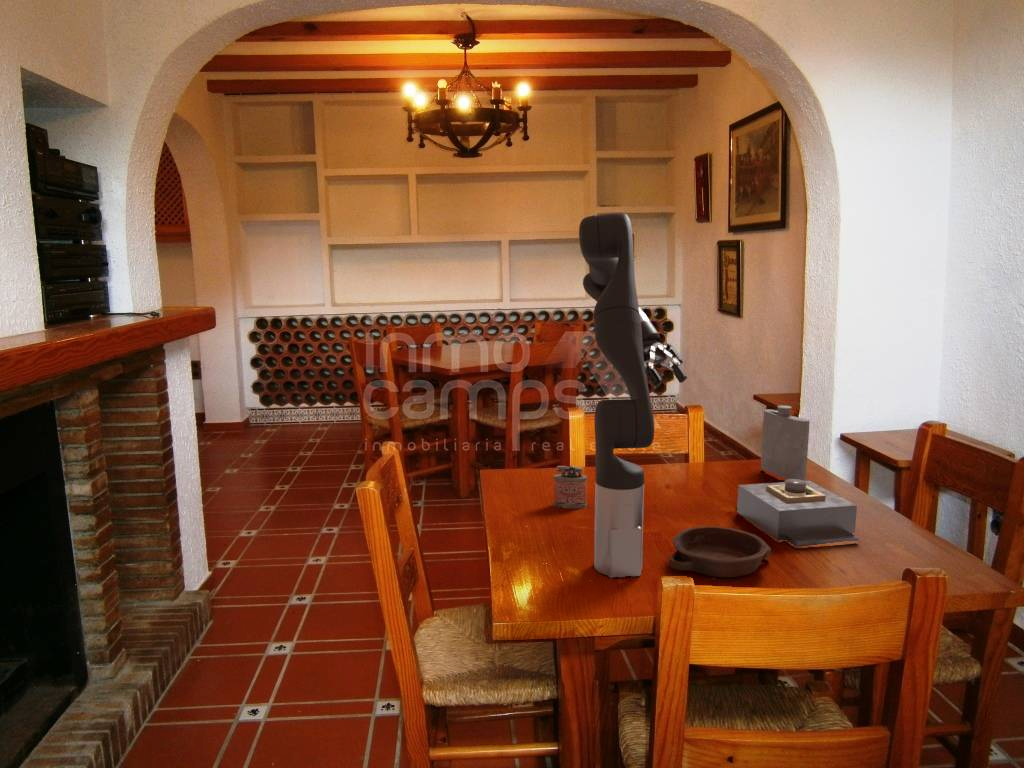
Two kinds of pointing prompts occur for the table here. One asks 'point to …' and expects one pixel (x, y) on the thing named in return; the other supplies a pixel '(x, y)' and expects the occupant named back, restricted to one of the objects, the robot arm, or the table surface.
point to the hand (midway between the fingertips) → (671, 382)
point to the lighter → (570, 488)
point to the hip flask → (785, 443)
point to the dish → (718, 551)
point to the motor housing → (798, 513)
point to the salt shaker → (795, 487)
